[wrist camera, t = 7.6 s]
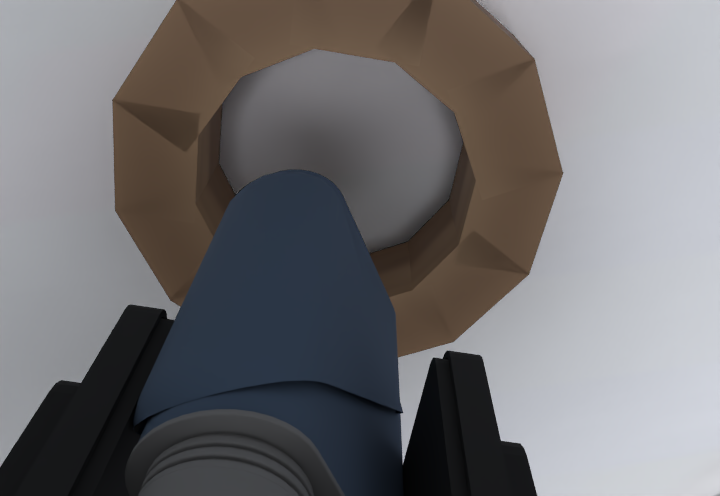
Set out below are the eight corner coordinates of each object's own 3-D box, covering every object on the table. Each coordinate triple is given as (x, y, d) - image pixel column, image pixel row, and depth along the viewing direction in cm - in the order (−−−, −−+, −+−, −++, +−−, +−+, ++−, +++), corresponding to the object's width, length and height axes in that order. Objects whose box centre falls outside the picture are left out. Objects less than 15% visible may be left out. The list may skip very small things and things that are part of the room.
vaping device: (313, 369, 16) (190, 1303, 5) (211, 182, 14) (-347, 1186, 3) (413, 338, 15) (493, 1304, 5) (325, 139, 13) (122, 1163, 3)
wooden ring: (478, 332, 24) (490, 388, 21) (147, 283, 23) (117, 334, 20) (585, -15, 18) (621, 2, 15) (149, -94, 17) (107, -89, 15)
